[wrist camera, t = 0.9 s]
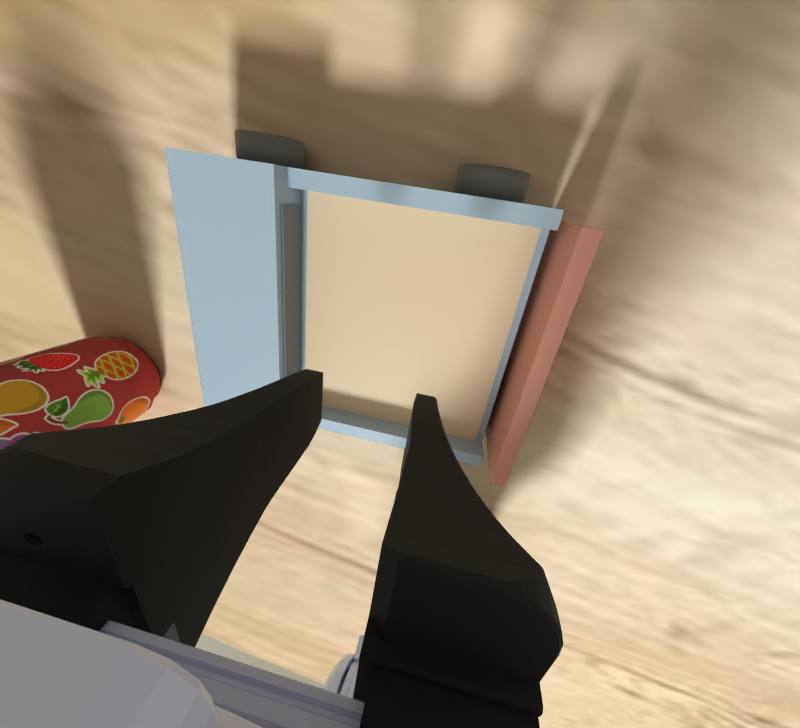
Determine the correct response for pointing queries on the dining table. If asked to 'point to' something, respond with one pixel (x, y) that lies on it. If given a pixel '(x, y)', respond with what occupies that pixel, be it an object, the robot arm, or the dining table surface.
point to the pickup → (356, 284)
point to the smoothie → (75, 388)
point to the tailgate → (538, 341)
